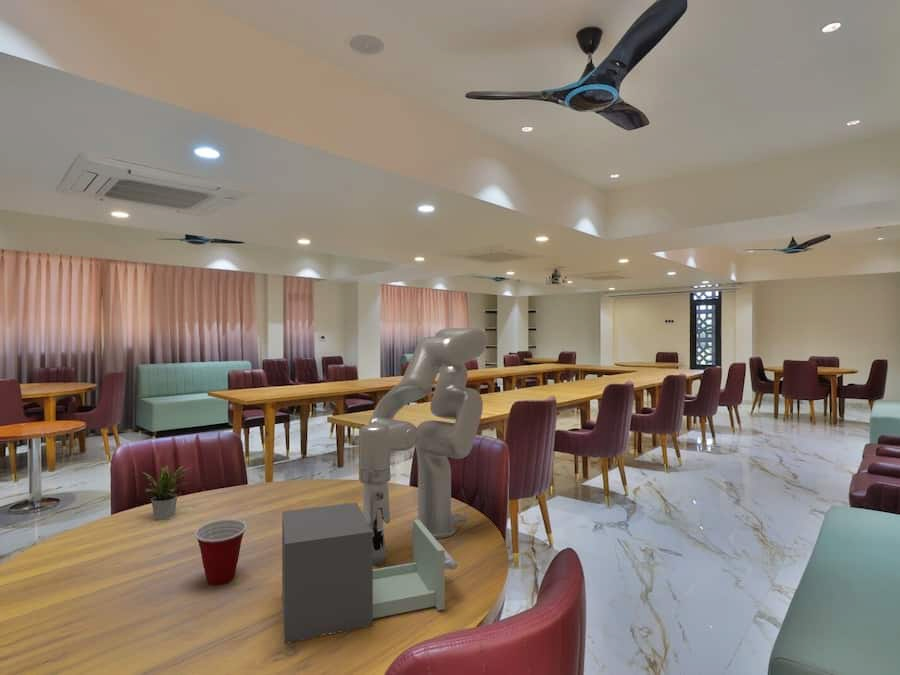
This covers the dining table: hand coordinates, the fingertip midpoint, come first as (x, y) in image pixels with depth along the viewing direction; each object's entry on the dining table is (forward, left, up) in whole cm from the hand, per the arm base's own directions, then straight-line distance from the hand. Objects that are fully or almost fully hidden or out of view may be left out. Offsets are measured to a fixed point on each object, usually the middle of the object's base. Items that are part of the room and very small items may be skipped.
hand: (374, 548), depth 120 cm
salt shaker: (0, 0, -3) cm, 3 cm away
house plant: (+54, -52, -3) cm, 75 cm away
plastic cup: (+35, -3, -3) cm, 35 cm away
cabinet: (+14, +18, -3) cm, 23 cm away
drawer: (-3, +18, -3) cm, 18 cm away
